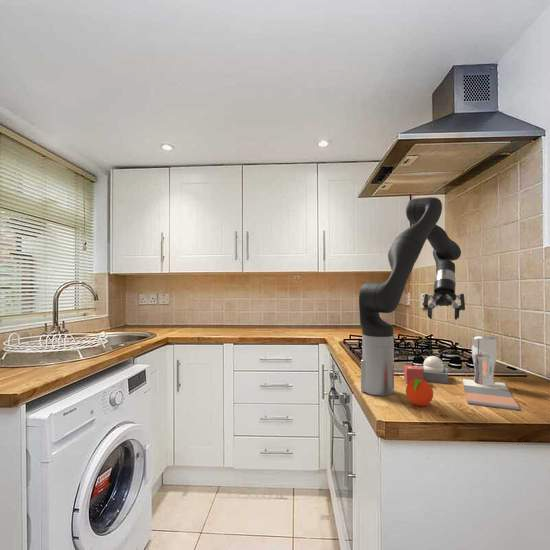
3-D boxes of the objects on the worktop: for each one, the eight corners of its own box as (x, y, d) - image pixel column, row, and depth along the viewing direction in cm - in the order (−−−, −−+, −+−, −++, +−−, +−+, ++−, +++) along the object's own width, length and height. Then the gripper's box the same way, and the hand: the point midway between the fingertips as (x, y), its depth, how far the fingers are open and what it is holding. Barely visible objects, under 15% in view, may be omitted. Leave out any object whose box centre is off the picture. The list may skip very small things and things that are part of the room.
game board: (467, 403, 96) (467, 402, 96) (462, 378, 122) (462, 377, 122) (520, 410, 91) (520, 409, 91) (503, 382, 116) (503, 381, 116)
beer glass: (471, 385, 113) (470, 338, 113) (472, 379, 118) (472, 335, 119) (496, 388, 109) (496, 340, 109) (497, 383, 115) (496, 337, 115)
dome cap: (423, 375, 120) (422, 357, 120) (423, 371, 126) (423, 353, 126) (443, 378, 118) (443, 358, 118) (443, 373, 123) (443, 355, 124)
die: (406, 384, 115) (406, 368, 115) (404, 379, 120) (403, 364, 120) (423, 384, 114) (422, 369, 114) (419, 380, 119) (419, 365, 119)
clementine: (428, 412, 90) (428, 384, 90) (401, 407, 94) (401, 380, 94) (436, 404, 96) (435, 378, 96) (410, 399, 100) (409, 374, 101)
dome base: (418, 380, 120) (418, 371, 120) (420, 374, 128) (420, 365, 128) (448, 383, 116) (448, 374, 116) (447, 376, 124) (447, 368, 124)
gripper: (424, 278, 141) (420, 312, 132) (464, 277, 133) (463, 312, 124) (426, 289, 145) (423, 322, 137) (465, 289, 138) (465, 324, 129)
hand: (442, 318), depth 130 cm, fingers open, 8 cm apart
